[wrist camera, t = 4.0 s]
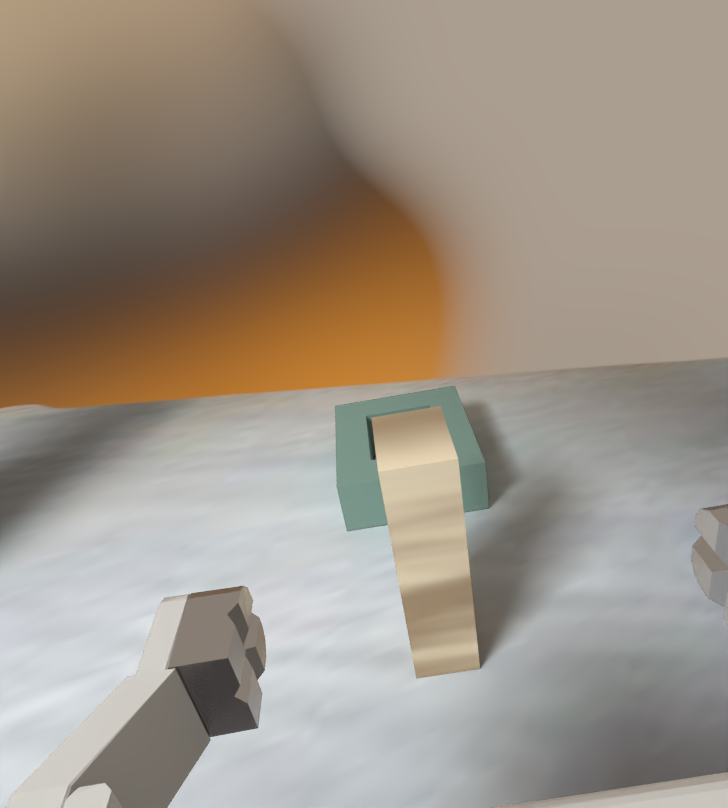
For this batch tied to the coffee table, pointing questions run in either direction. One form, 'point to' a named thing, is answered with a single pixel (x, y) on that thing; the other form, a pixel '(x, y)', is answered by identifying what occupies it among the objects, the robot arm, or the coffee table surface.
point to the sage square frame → (360, 468)
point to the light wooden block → (428, 538)
